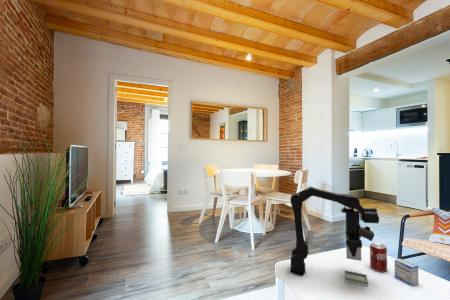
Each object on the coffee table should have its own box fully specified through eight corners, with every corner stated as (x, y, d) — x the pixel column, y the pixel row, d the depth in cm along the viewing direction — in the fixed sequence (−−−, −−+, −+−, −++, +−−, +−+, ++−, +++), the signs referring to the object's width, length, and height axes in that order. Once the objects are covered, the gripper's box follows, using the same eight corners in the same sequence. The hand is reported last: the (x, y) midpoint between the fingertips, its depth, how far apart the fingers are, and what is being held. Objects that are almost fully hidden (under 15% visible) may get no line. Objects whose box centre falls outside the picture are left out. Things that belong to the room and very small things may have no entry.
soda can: (390, 270, 114) (390, 247, 114) (380, 273, 112) (380, 249, 112) (376, 264, 121) (376, 241, 121) (366, 266, 118) (366, 244, 119)
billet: (346, 258, 107) (346, 243, 107) (346, 254, 110) (346, 240, 110) (361, 260, 104) (360, 245, 104) (360, 257, 107) (360, 242, 107)
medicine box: (394, 277, 109) (393, 259, 109) (400, 275, 110) (400, 257, 110) (412, 286, 101) (412, 267, 101) (419, 284, 103) (418, 265, 103)
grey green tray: (344, 281, 105) (344, 277, 105) (344, 274, 112) (344, 270, 112) (368, 287, 101) (367, 282, 101) (366, 278, 108) (366, 274, 108)
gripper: (375, 230, 95) (376, 267, 95) (370, 218, 112) (371, 249, 112) (345, 227, 100) (346, 262, 100) (344, 215, 117) (345, 246, 117)
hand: (353, 254), depth 107 cm, fingers closed on billet, 4 cm apart
